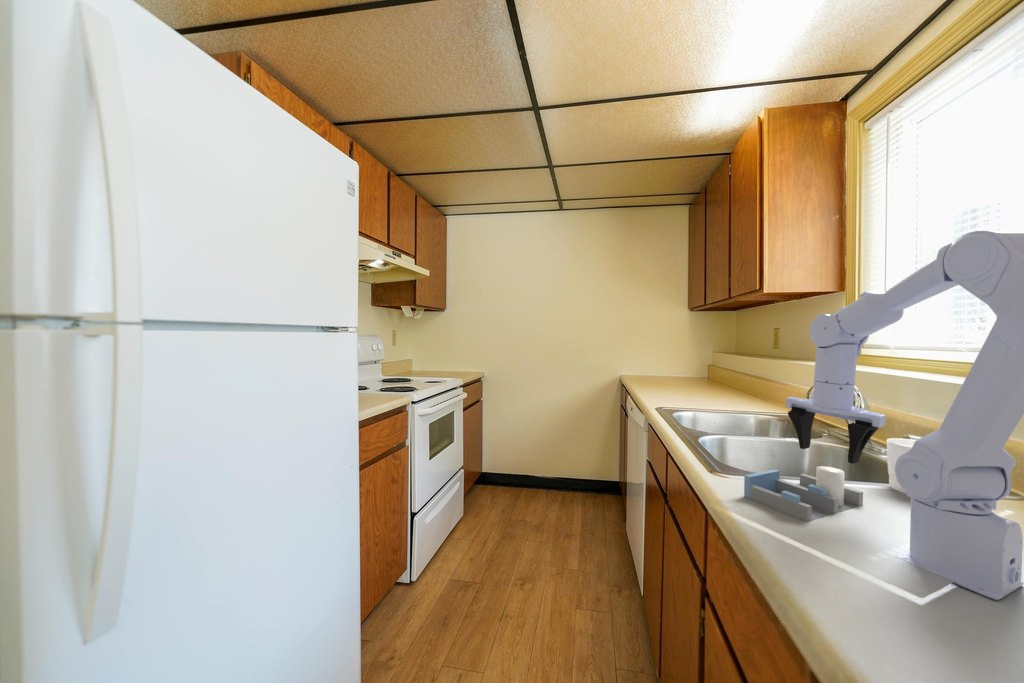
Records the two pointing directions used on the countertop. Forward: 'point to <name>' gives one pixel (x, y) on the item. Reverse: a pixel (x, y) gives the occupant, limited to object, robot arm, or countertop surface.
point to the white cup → (894, 451)
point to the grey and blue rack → (797, 495)
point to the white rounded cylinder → (831, 482)
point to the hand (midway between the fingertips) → (827, 454)
